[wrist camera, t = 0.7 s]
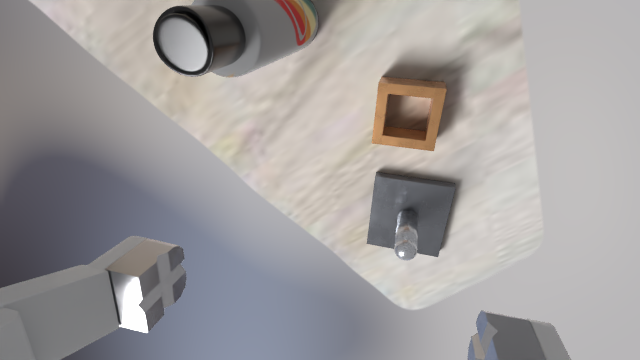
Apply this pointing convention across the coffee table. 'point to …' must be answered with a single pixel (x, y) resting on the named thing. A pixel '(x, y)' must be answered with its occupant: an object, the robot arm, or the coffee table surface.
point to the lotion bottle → (232, 34)
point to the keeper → (409, 214)
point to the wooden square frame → (408, 136)
